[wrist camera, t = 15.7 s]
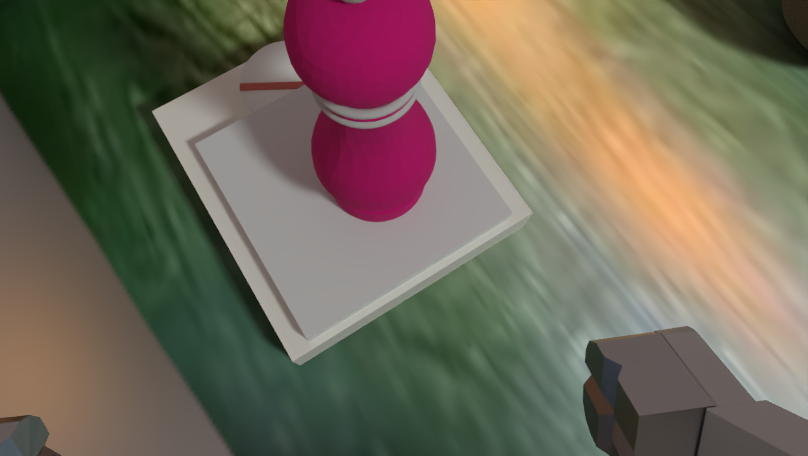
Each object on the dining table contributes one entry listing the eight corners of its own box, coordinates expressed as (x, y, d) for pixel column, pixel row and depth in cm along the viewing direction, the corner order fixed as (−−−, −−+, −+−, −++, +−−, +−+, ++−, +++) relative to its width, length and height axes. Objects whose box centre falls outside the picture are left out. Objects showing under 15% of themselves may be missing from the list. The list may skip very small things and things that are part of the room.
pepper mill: (431, 233, 38) (457, 59, 19) (316, 227, 38) (228, 48, 19) (435, 128, 40) (463, -125, 21) (326, 123, 40) (256, -133, 21)
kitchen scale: (524, 226, 43) (536, 207, 39) (300, 365, 40) (288, 360, 36) (374, 17, 48) (372, -19, 44) (166, 128, 45) (143, 100, 41)
